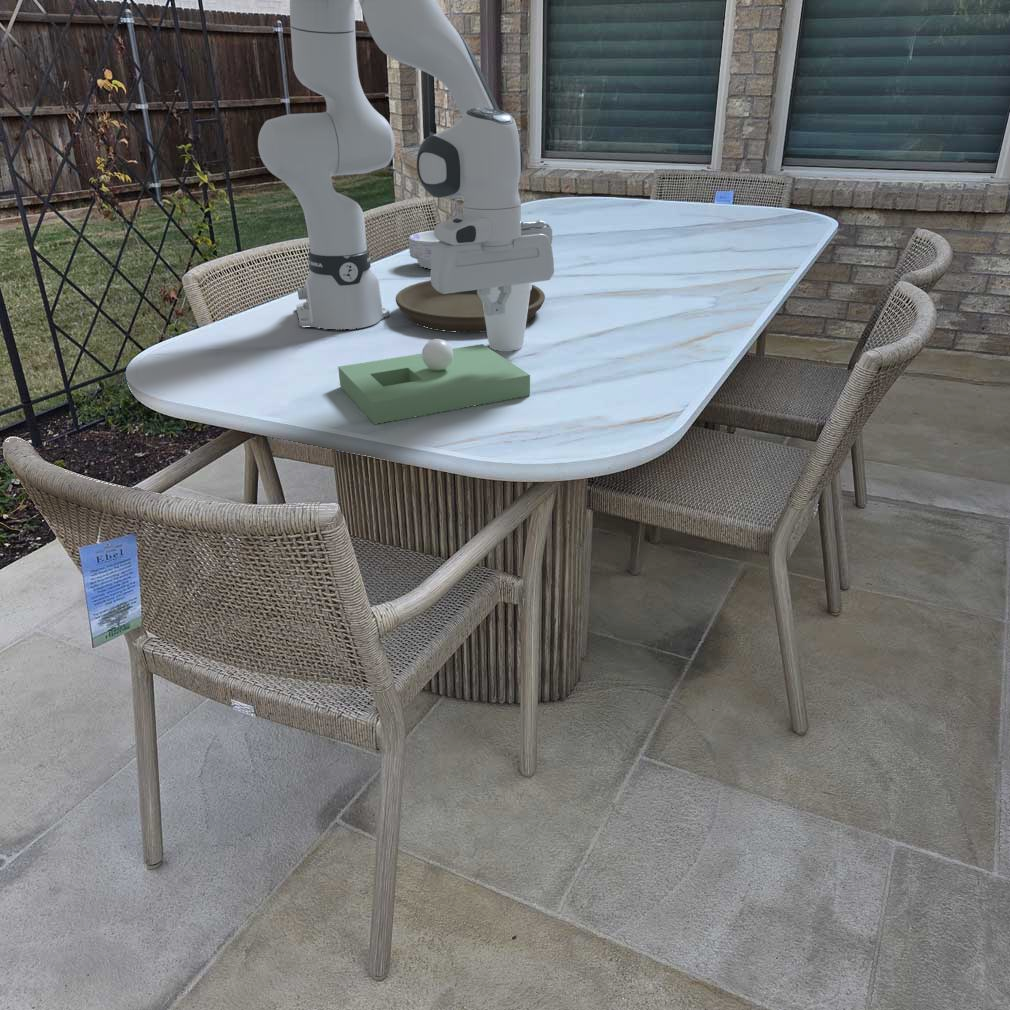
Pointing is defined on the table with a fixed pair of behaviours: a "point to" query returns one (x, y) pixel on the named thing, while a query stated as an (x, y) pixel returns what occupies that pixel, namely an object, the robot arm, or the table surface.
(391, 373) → the green
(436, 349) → the ball
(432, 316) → the plant saucer
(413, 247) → the paper bowls
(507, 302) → the foam cup
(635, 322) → the table surface
